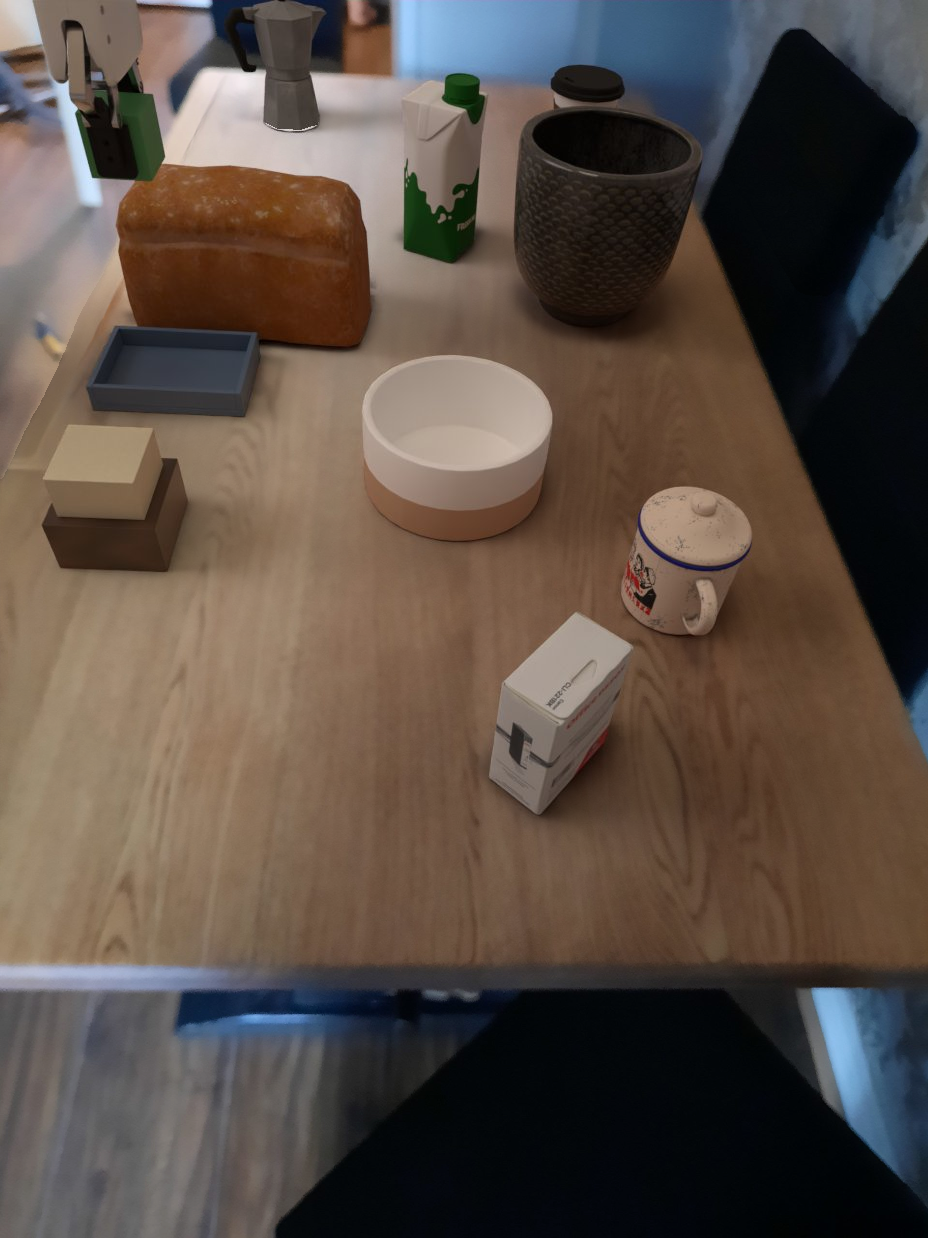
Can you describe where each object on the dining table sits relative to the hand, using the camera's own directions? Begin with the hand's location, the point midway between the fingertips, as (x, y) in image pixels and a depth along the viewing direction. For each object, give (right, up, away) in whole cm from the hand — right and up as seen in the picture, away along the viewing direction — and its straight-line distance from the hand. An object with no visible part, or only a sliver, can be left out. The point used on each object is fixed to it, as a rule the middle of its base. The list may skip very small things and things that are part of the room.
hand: (127, 159), depth 73 cm
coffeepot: (0, +40, +64) cm, 76 cm away
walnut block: (-1, -31, +3) cm, 32 cm away
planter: (+43, 0, +33) cm, 55 cm away
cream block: (-1, -28, -1) cm, 28 cm away
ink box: (+35, -50, -9) cm, 61 cm away
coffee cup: (+46, +32, +61) cm, 82 cm away
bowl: (+28, -26, +11) cm, 39 cm away
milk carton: (+25, +10, +41) cm, 49 cm away
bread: (+4, -3, +27) cm, 28 cm away
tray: (-1, -14, +18) cm, 23 cm away
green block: (0, 0, 0) cm, 1 cm away
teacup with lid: (+47, -39, +1) cm, 60 cm away
